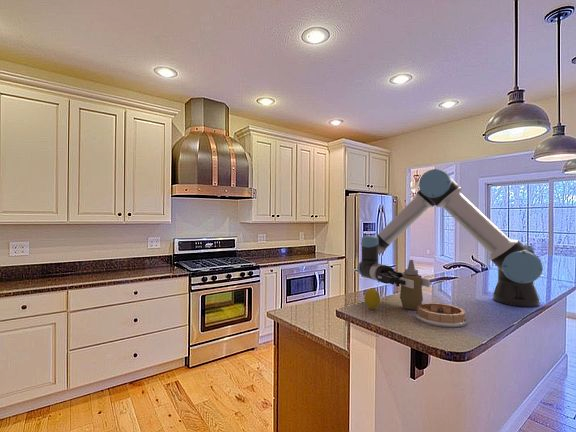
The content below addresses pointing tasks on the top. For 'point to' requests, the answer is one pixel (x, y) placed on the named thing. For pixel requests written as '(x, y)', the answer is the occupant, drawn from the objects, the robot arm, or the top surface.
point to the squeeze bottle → (411, 289)
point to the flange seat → (441, 315)
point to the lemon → (372, 298)
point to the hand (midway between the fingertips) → (420, 284)
